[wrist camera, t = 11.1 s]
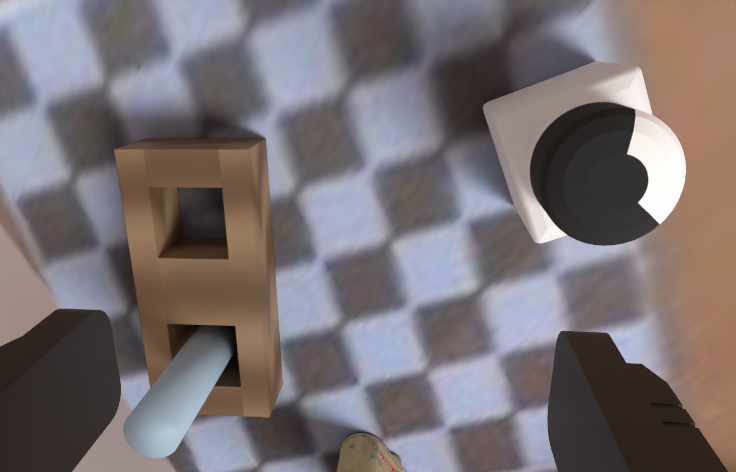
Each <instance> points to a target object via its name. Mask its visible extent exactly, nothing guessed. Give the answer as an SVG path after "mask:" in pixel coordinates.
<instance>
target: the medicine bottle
mask: <svg viewBox="0 0 736 472" xmlns="http://www.w3.org/2000/svg"><path fill="white" fill-rule="evenodd" d="M483 112H484V115H485V118H486V121H487V124H488V127H489V130H490V133H491V136H492V139H493V142H494V145H495V148H496V152H497V155H498V158H499V161H500V164H501V167H502V170H503V173H504V176H505V179H506V182H507V185H508V188H509V191H510V194H511V197H512V200H513V204H514V207H515V208H516V210H517V212H518V214H519V215H520V217H521V219H522V221H523V223H524V224H525V226H526V228H527V230H528V231H529V233H530V235H531V237H532V239H533V240H534V242H536V243H544V242H547V241H550V240H554V239H557V238H560V237H563V236H566V235H568V236H570V237H572V238H574V239H576V240H578V241H581V242H584V243H588V244H593V245H603V246H606V245H617V244H623V243H626V242H630V241H633V240H635V239H637V238H640V237H642V236H644V235H645V234H647V233H649V232H650V231H652V230H653V229H654V228H656V227H657V226H658V225H660V224H661V223H662V222H663V221H664V220H665V219H666V218H667V216H668V215H669V214H670V212H671V211H672V210H673V208H674V207H675V205H676V203H677V202H678V200H679V197H680V195H681V192H682V190H683V186H684V182H685V174H686V166H685V158H684V153H683V150H682V147H681V144H680V142H679V141H678V139H677V137H676V135H675V134H674V133H673V132H672V130H671V129H670V128H669V127H668V126H667V125H666V124H665V123H664V122H662V121H661V120H659V119H658V118H656V117H655V116H653V115H652V111H651V107H650V103H649V99H648V95H647V91H646V87H645V83H644V79H643V75H642V71H641V70H640V68H639V67H637V66H632V65H624V64H615V63H606V62H592V63H590V64H587V65H584V66H582V67H579V68H576V69H574V70H571V71H568V72H566V73H563V74H560V75H558V76H555V77H552V78H550V79H547V80H544V81H542V82H539V83H536V84H534V85H531V86H529V87H526V88H523V89H521V90H518V91H515V92H513V93H510V94H507V95H505V96H502V97H499V98H497V99H494V100H491V101H489V102H486V103H485V104H484V106H483Z"/></svg>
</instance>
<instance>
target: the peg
mask: <svg viewBox="0 0 736 472" xmlns="http://www.w3.org/2000/svg"><path fill="white" fill-rule="evenodd" d="M236 349H237V339H236V328H235V326H226V325H200V326H199V327H198V328H197V329H196V331H195V332H194V333H193V334H192V336H191V337H190V338H189V340H188V341H187V342H186V343H185V345H184V346H183V347H182V349H181V350H180V351H179V352H178V354H177V355H176V356H175V358H174V359H173V360H172V361H171V363H170V364H169V365H168V367H167V368H166V369H165V370H164V372H163V373H162V374H161V375H160V377H159V378H158V379H157V381H156V382H155V383H154V384H153V386H152V387H151V388H150V390H149V391H148V392H147V393H146V395H145V396H144V397H143V399H142V400H141V401H140V402H139V404H138V405H137V406H136V407H135V409H134V410H133V411H132V413H131V414H130V415H129V417H128V418H127V419H126V421H125V423H124V436H125V438H126V440H127V442H128V444H129V445H130V446H131V447H132V448H133V449H134V450H135V451H136V452H138V453H140V454H142V455H144V456H147V457H151V458H162V457H166V456H168V455H170V454H172V453H173V452H174V451H175V450H176V448H177V447H178V445H179V444H180V442H181V440H182V439H183V437H184V435H185V434H186V432H187V430H188V429H189V427H190V425H191V424H192V422H193V420H194V419H195V417H196V415H197V414H198V412H199V410H200V409H201V407H202V405H203V404H204V402H205V400H206V399H207V397H208V395H209V394H210V392H211V390H212V389H213V387H214V385H215V384H216V382H217V380H218V379H219V377H220V375H221V374H222V372H223V370H224V369H225V367H226V365H227V364H228V362H229V360H230V359H231V357H232V355H233V354H234V352H235V350H236Z"/></svg>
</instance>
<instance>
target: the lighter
mask: <svg viewBox="0 0 736 472" xmlns="http://www.w3.org/2000/svg"><path fill="white" fill-rule="evenodd" d="M337 472H405V470H404V469H403V468H402V467H401V460H400V458H399V457H398V456H397V455H396V454H393V453H390V452H389V451H388V449H387V448H386V447H385V446H384V445H383V443H382V442H381V441H380V440H379V439H378V438H377V437H375V436H373V435H370V434H366V433H357V434H353V435H350V436H349V437H347V438H346V439H345V440H344V441H343V442H342V444H341V447H340V457H339V462H338V467H337Z"/></svg>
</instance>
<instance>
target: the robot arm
mask: <svg viewBox="0 0 736 472" xmlns="http://www.w3.org/2000/svg"><path fill="white" fill-rule="evenodd" d="M120 396H121V383H120V377H119V371H118V365H117V359H116V353H115V347H114V341H113V335H112V329H111V324H110V320H109V318H108V316H107V314H106V313H105V312H103V311H101V310H84V309H58V310H56V311H54V312H53V313H51V314H50V315H49V316H47V317H46V318H45V319H44V320H42V321H41V322H40V323H39V324H37V325H36V326H35V327H34V328H32V329H31V330H30V331H28V332H27V333H26V334H25V335H24V336H22V337H19V338H17V339H15V340H13V341H11V342H9V343H7V344H5V345H3V346H1V347H0V472H72V471H73V470H74V468H75V467H76V465H77V464H78V463H79V462H80V461H81V459H82V458H83V457H84V456H85V454H86V453H87V452H88V450H89V449H90V448H91V447H92V445H93V444H94V443H95V441H96V440H97V439H98V438H99V436H100V435H101V434H102V432H103V431H104V430H105V429H106V427H107V426H108V425H109V423H110V422H111V421H112V419H113V418H114V416H115V414H116V412H117V409H118V406H119V402H120ZM548 435H549V441H550V446H551V449H552V453H553V456H554V459H555V463H556V466H557V469H558V472H728V471H727V470H726V468H725V467H724V465H723V464H722V462H721V461H720V459H719V458H718V457H717V455H716V454H715V452H714V451H713V449H712V448H711V446H710V445H709V443H708V442H707V440H706V439H705V437H704V436H703V435H702V433H701V432H700V430H699V429H698V428H695V423H694V421H693V420H692V418H691V417H690V415H689V414H688V413H687V411H686V410H685V409H682V404H681V402H680V401H679V399H678V398H677V396H676V395H675V393H674V392H673V391H672V389H671V388H670V386H669V385H668V383H667V382H665V381H664V380H663V379H661V378H660V377H659V376H657V375H656V374H655V373H653V372H652V371H650V370H649V369H648V368H646V367H645V366H644V365H642V364H632V363H626V362H625V360H624V358H623V357H622V355H621V353H620V352H619V350H618V348H617V347H616V345H615V343H614V342H613V340H612V338H611V337H610V335H609V334H607V333H598V332H575V331H561V332H560V333H559V335H558V338H557V343H556V350H555V358H554V366H553V373H552V381H551V389H550V397H549V405H548Z"/></svg>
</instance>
